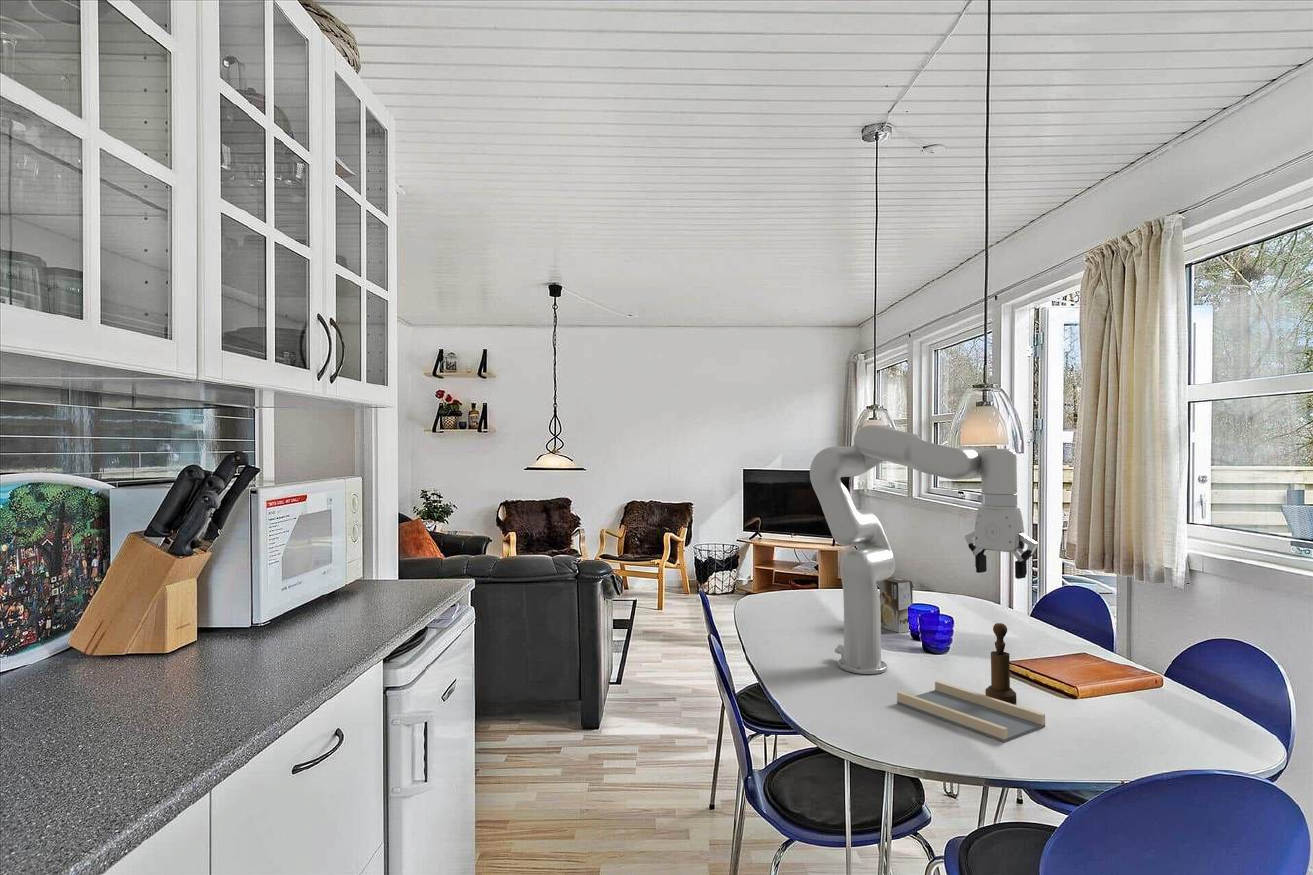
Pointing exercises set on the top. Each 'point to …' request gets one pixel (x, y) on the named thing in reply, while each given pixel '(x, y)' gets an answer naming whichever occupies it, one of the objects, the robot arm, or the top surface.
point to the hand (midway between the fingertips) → (1000, 575)
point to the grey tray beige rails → (974, 711)
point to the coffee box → (895, 603)
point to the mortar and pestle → (1000, 669)
